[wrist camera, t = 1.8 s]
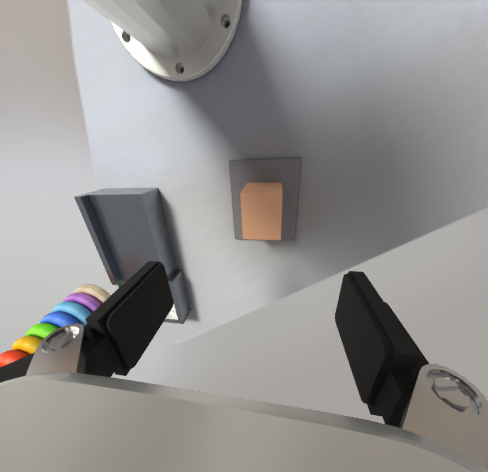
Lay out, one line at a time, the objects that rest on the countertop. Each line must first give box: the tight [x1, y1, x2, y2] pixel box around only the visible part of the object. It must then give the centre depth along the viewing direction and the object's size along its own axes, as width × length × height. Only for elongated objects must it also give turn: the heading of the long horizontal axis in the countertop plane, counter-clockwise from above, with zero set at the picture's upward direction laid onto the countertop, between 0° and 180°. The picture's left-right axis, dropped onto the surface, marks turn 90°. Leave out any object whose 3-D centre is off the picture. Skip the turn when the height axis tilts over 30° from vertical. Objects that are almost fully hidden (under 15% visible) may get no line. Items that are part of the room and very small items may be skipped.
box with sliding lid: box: [75, 188, 191, 324], centre depth 29 cm, size 22×10×4 cm, turn 3°
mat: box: [229, 158, 301, 240], centre depth 24 cm, size 10×8×1 cm
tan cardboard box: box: [240, 182, 283, 240], centre depth 21 cm, size 5×4×5 cm
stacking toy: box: [0, 284, 110, 367], centre depth 29 cm, size 8×8×19 cm
